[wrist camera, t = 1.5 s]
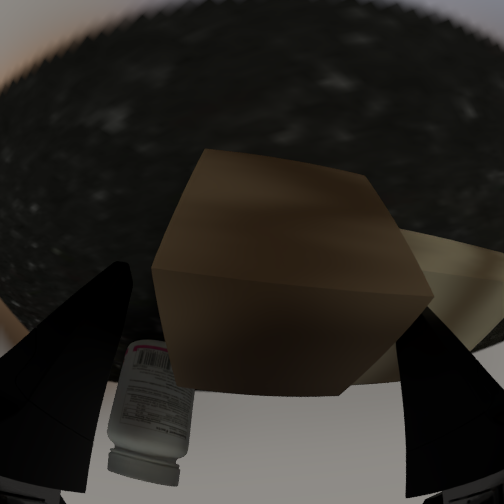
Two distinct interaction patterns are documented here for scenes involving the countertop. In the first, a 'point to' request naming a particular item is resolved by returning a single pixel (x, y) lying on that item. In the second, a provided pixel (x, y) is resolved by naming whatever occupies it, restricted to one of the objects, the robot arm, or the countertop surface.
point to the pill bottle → (149, 416)
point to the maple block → (452, 294)
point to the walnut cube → (281, 278)
